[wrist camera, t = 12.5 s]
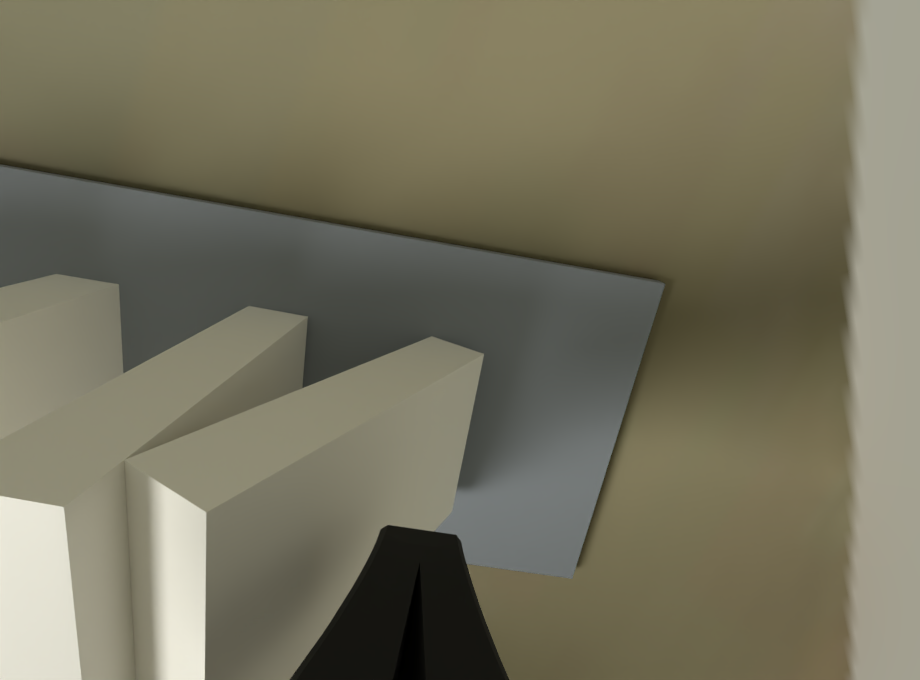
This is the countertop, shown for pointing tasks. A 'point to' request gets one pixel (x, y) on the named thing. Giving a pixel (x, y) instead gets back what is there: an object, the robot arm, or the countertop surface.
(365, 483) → the domino
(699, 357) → the countertop surface
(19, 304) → the domino
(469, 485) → the domino mat
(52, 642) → the domino
